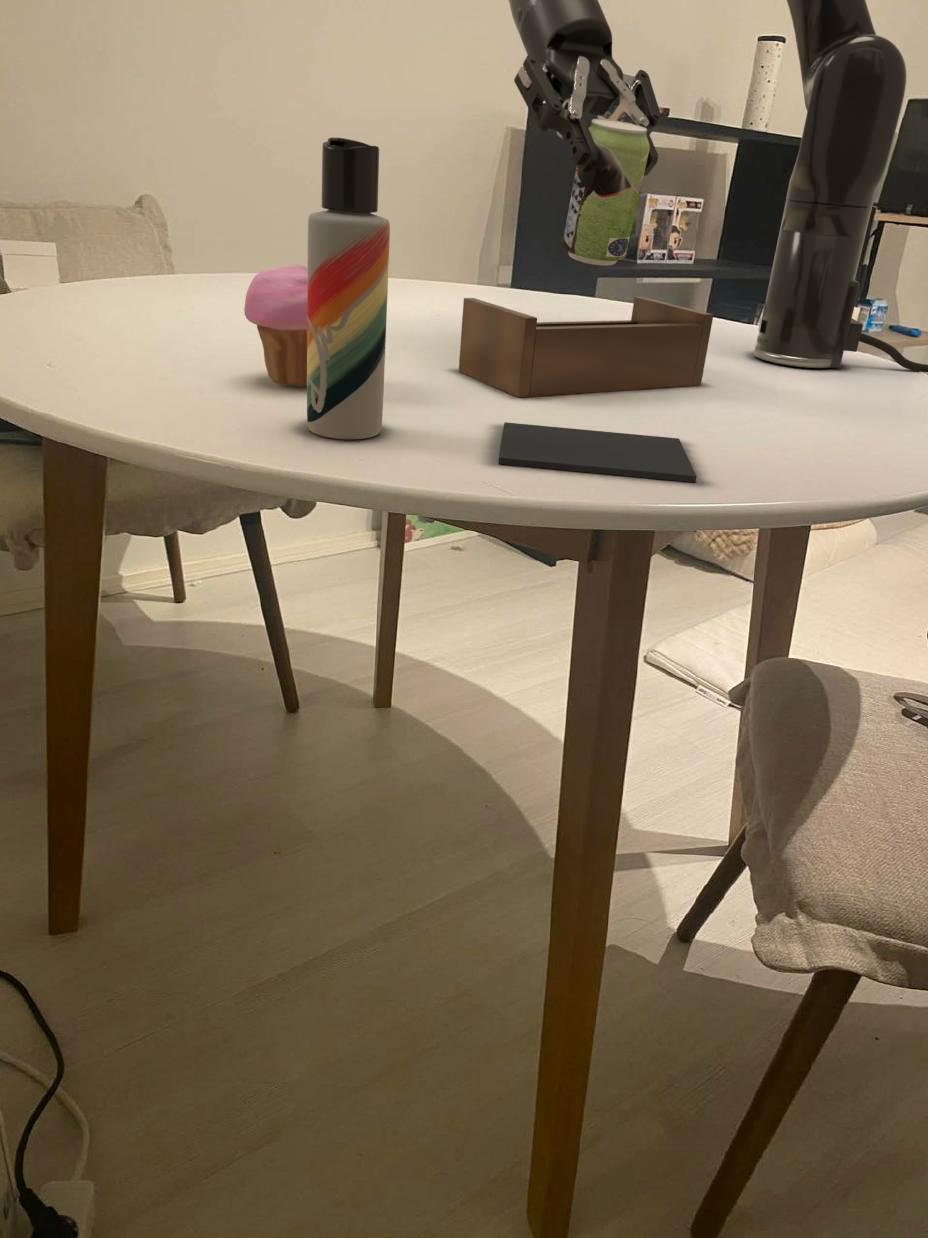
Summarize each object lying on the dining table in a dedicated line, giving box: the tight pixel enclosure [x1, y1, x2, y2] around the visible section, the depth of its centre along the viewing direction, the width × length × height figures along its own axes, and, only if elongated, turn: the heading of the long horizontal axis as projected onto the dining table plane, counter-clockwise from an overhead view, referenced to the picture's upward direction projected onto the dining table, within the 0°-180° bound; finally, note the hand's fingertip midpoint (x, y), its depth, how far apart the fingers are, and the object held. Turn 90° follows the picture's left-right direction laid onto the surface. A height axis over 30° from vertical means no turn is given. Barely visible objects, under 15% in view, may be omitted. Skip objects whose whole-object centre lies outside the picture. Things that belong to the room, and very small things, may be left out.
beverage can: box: [561, 118, 650, 266], centre depth 89 cm, size 6×7×12 cm
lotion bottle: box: [306, 137, 391, 440], centre depth 70 cm, size 6×6×20 cm
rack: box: [458, 296, 714, 398], centre depth 97 cm, size 11×22×7 cm, turn 121°
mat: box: [498, 421, 698, 483], centre depth 74 cm, size 14×10×1 cm
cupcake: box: [243, 264, 308, 387], centre depth 85 cm, size 9×9×10 cm
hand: (619, 166), depth 86 cm, fingers closed on beverage can, 6 cm apart
